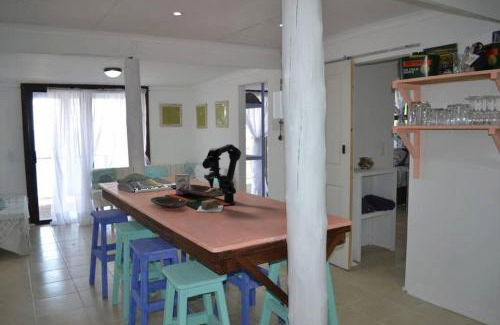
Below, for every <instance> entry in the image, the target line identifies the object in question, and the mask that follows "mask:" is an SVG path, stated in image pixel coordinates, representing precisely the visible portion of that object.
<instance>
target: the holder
mask: <svg viewBox="0 0 500 325" xmlns="http://www.w3.org/2000/svg"><path fill="white" fill-rule="evenodd" d="M163 185H164V187H161V188H158V187H155V188H151V189H148V188H147V189H141V190H138V188H135V189H136V190H135V192H134V193H136V194H140V193H141V194H142V193H149V192H151V193H152V192H157V191H159V192H160V191H167V190H168V191H169V190H173V189H172V188H171V187H168V186H171V185H176V182H174V183H169V184H163Z"/></svg>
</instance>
